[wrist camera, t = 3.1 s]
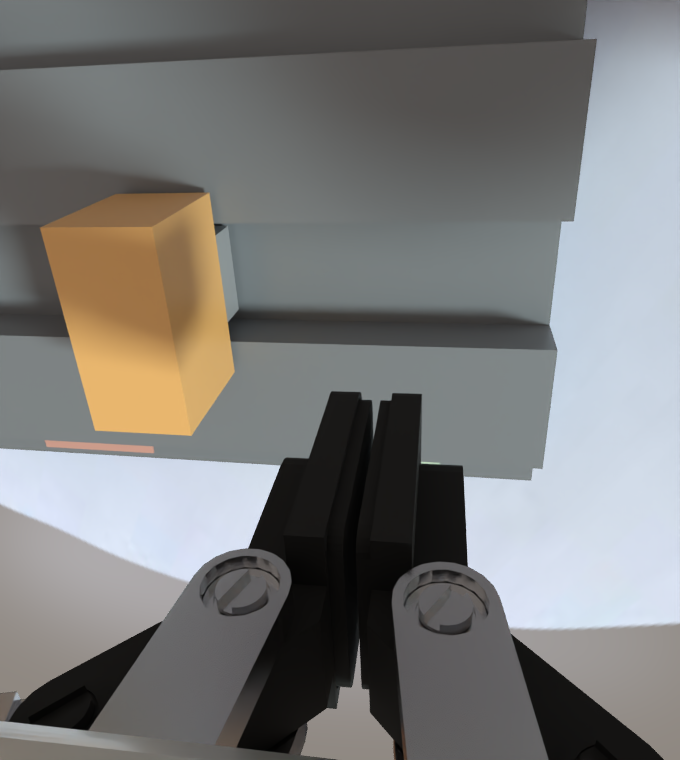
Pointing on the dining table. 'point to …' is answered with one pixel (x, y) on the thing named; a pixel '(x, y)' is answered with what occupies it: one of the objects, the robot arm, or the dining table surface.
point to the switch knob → (146, 308)
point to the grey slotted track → (308, 206)
